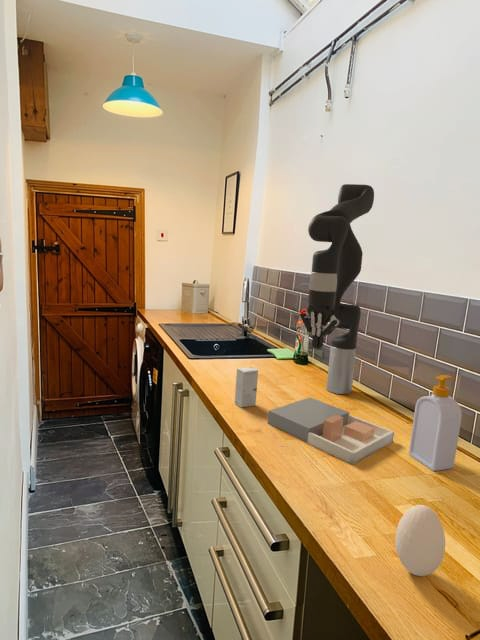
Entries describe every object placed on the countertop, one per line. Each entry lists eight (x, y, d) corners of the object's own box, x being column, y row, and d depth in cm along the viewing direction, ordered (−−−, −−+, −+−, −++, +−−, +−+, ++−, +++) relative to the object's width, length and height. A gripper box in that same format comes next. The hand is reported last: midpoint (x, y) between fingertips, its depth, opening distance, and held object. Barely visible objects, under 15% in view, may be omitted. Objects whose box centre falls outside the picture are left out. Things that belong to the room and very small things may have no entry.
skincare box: (241, 408, 134) (243, 372, 132) (233, 403, 137) (236, 368, 135) (256, 405, 137) (259, 370, 135) (248, 400, 141) (251, 366, 139)
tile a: (374, 428, 117) (373, 436, 118) (355, 421, 121) (355, 429, 122) (364, 433, 113) (363, 442, 114) (345, 426, 117) (344, 434, 118)
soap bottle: (455, 468, 103) (470, 381, 99) (434, 472, 101) (448, 382, 97) (428, 451, 112) (441, 370, 108) (408, 454, 109) (420, 371, 105)
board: (308, 408, 137) (309, 397, 136) (348, 424, 126) (349, 412, 125) (267, 423, 123) (268, 410, 122) (307, 442, 112) (309, 428, 112)
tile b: (335, 414, 116) (343, 417, 115) (333, 434, 117) (341, 437, 116) (324, 420, 112) (332, 423, 110) (322, 440, 113) (329, 443, 111)
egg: (431, 597, 63) (442, 528, 61) (384, 571, 68) (393, 506, 66) (445, 571, 69) (456, 507, 67) (401, 548, 73) (409, 488, 71)
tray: (349, 424, 126) (350, 415, 126) (392, 441, 116) (394, 431, 116) (307, 443, 112) (308, 432, 111) (352, 464, 102) (353, 453, 101)
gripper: (350, 291, 114) (343, 351, 117) (311, 285, 123) (306, 341, 126) (335, 292, 109) (328, 355, 112) (295, 286, 118) (291, 344, 121)
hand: (317, 348), depth 119 cm, fingers closed
